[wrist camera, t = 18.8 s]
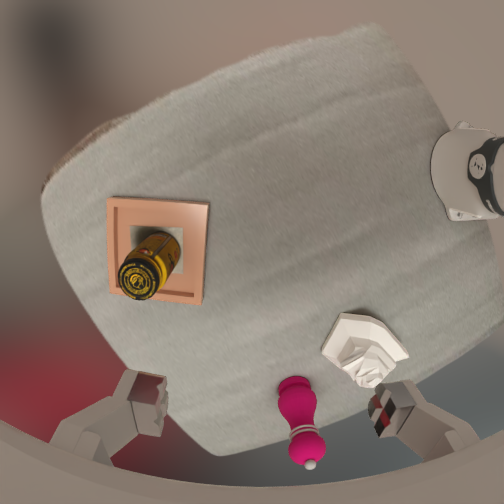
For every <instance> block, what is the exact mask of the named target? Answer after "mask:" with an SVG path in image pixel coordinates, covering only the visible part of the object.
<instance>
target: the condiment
mask: <svg viewBox="0 0 504 504" xmlns="http://www.w3.org/2000/svg"><path fill="white" fill-rule="evenodd" d="M130 240H131V252H130V253H129V254H128V255H127V256H126V258H125V260H124V263H122V265H121V266H120V269H119V271H118V283H119V286H120V288H121V289H122V291H123V292H124V293H125V294H126V295H127V296H129V297H131V298H132V299H135V300H146V299H148V298H151V297H152V296H153V295H154V294H155V293H156V292H157V291H158V290H160V289H161V288H162V287H163V286H164V284H165V283H166V281H167V279H168V278H169V276H170V274H171V273H177V274H183V228H180V227H149V226H130Z"/></svg>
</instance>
